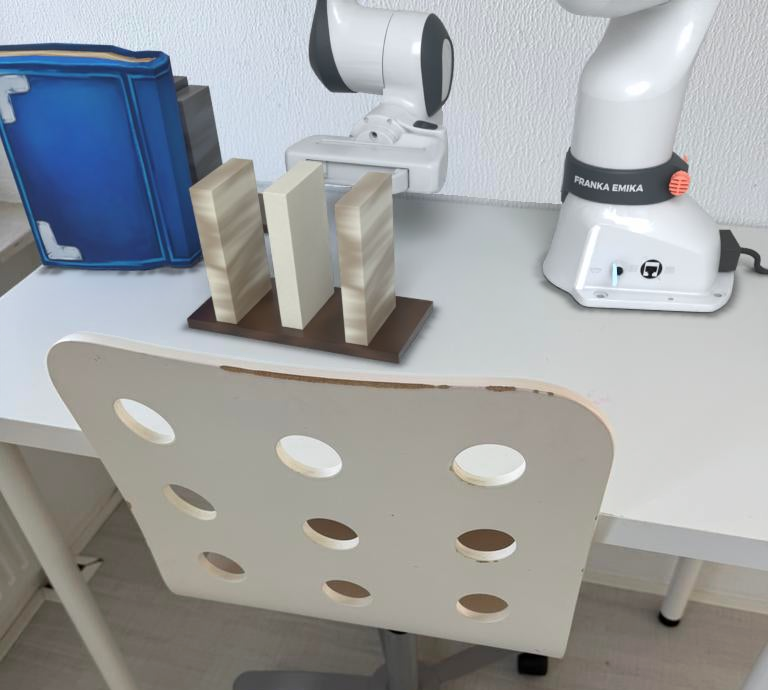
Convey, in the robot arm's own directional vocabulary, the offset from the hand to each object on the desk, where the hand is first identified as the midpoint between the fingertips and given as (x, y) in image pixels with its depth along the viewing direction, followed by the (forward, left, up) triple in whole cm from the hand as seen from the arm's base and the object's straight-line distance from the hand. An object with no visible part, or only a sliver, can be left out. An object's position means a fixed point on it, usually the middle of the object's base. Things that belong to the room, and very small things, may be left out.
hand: (342, 188), depth 90 cm
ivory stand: (0, +11, -11) cm, 16 cm away
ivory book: (0, +11, -10) cm, 15 cm away
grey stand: (+24, -14, -11) cm, 30 cm away
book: (+30, +4, -11) cm, 32 cm away
